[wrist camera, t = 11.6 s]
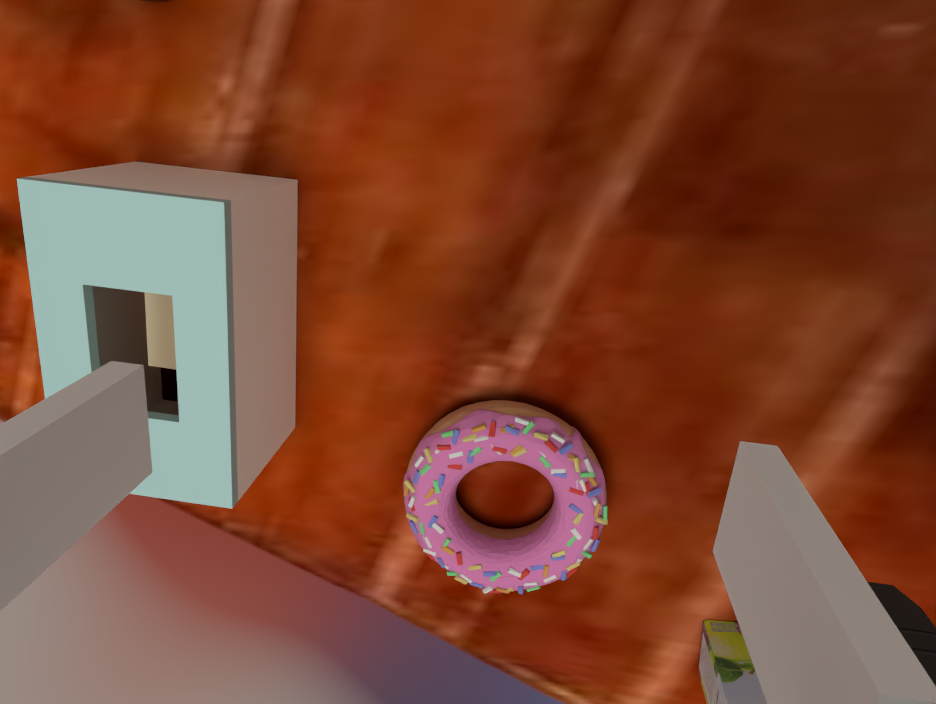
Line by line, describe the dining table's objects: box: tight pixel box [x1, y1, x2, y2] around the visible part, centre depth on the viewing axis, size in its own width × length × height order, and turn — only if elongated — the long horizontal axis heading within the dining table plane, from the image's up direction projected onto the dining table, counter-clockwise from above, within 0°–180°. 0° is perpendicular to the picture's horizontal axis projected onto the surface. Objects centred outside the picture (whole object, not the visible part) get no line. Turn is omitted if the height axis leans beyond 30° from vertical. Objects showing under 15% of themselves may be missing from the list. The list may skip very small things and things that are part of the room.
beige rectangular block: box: [145, 292, 176, 370], centre depth 45 cm, size 3×5×7 cm, turn 174°
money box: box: [17, 162, 298, 509], centre depth 43 cm, size 11×18×11 cm, turn 175°
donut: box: [403, 400, 608, 594], centre depth 49 cm, size 14×14×5 cm
